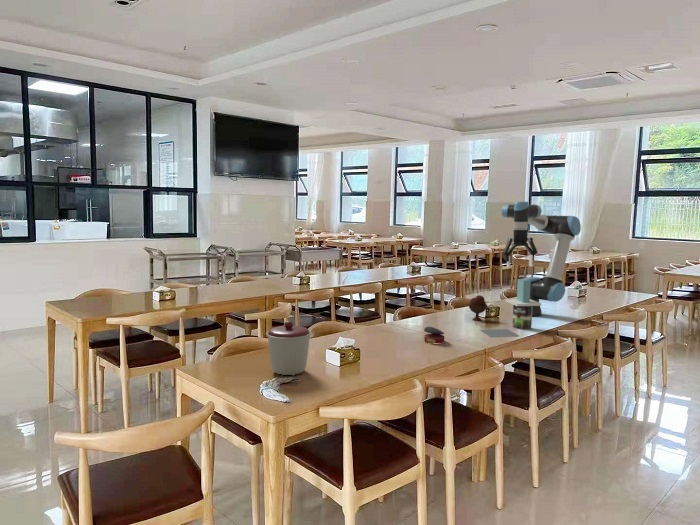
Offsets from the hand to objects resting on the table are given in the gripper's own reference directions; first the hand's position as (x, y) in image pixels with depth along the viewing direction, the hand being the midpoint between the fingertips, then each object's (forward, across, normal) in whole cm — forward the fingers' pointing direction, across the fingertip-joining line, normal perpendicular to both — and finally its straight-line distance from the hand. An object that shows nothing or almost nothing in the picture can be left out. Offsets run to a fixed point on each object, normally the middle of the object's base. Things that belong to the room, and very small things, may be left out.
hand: (519, 266), depth 293 cm
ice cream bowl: (+33, +18, -15) cm, 41 cm away
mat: (+33, +21, +19) cm, 43 cm away
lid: (+19, +2, +9) cm, 21 cm away
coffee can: (+34, +2, +9) cm, 35 cm away
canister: (+29, +135, +64) cm, 152 cm away
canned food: (+32, +60, +28) cm, 74 cm away
